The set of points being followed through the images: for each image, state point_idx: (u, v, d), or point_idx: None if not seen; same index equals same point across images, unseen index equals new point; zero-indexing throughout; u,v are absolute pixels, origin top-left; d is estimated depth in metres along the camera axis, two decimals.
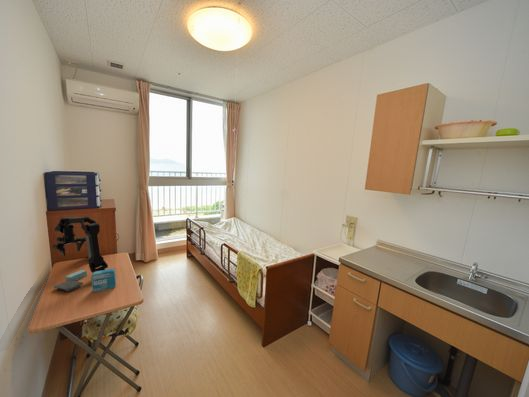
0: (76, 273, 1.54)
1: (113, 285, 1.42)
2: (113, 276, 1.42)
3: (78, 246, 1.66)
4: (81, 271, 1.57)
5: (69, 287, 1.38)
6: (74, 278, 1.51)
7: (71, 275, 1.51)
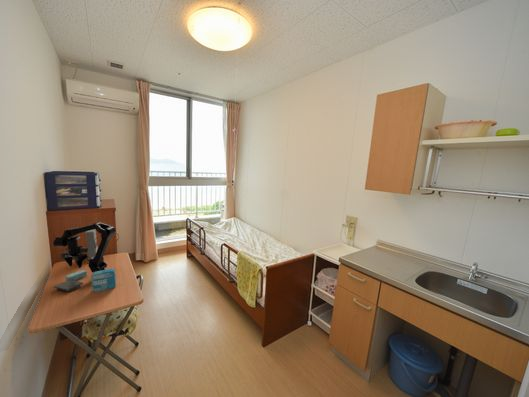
0: (76, 273, 1.54)
1: (113, 285, 1.42)
2: (113, 276, 1.42)
3: None
4: (81, 271, 1.57)
5: (69, 287, 1.38)
6: (73, 278, 1.51)
7: (71, 275, 1.51)
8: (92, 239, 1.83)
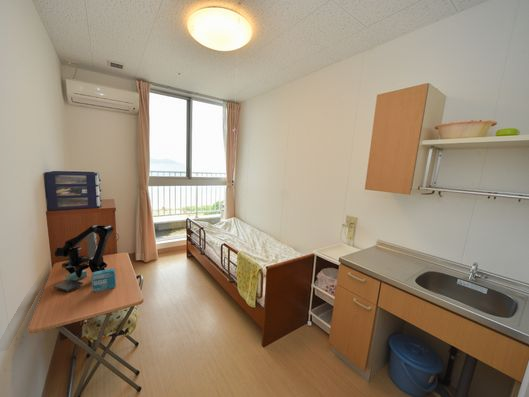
0: None
1: (113, 285, 1.42)
2: (113, 276, 1.42)
3: None
4: None
5: (69, 287, 1.38)
6: (73, 278, 1.51)
7: (70, 275, 1.51)
8: (92, 239, 1.83)
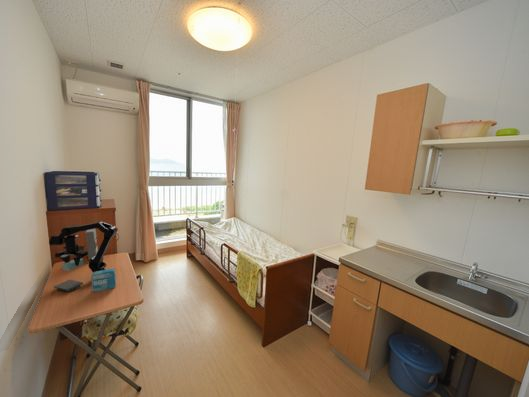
0: (73, 261, 1.50)
1: (113, 285, 1.42)
2: (113, 276, 1.42)
3: None
4: None
5: (69, 287, 1.38)
6: (71, 266, 1.47)
7: (68, 263, 1.47)
8: (92, 239, 1.83)
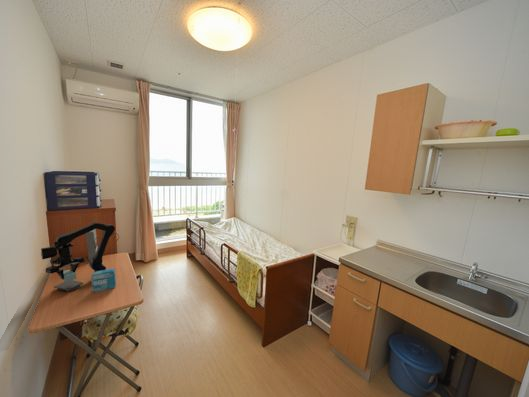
0: (67, 272, 1.41)
1: (113, 285, 1.42)
2: (113, 276, 1.42)
3: (72, 269, 1.44)
4: (65, 271, 1.43)
5: (69, 287, 1.38)
6: None
7: (69, 273, 1.40)
8: (92, 239, 1.83)
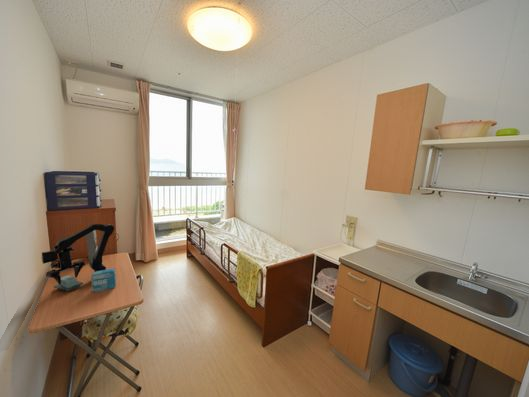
0: (67, 278, 1.42)
1: (113, 285, 1.42)
2: (113, 276, 1.42)
3: (76, 271, 1.45)
4: (65, 277, 1.43)
5: (69, 287, 1.38)
6: None
7: (70, 279, 1.40)
8: (92, 239, 1.83)
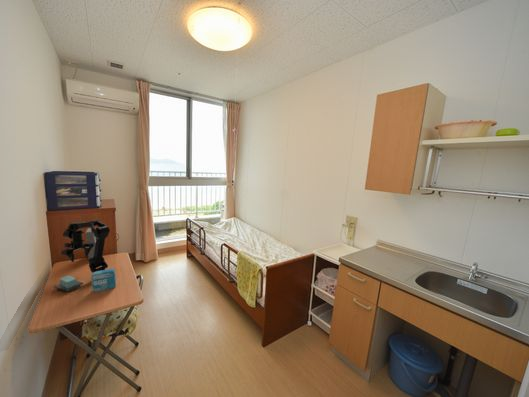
0: (67, 278, 1.42)
1: (113, 285, 1.42)
2: (113, 276, 1.42)
3: (86, 251, 1.63)
4: (65, 277, 1.43)
5: (69, 287, 1.38)
6: None
7: (70, 279, 1.40)
8: (92, 239, 1.83)
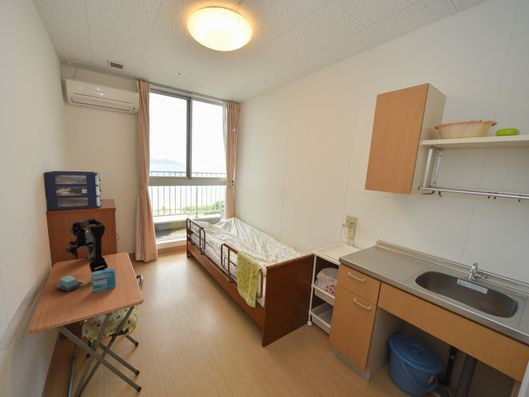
0: (67, 278, 1.42)
1: (113, 285, 1.42)
2: (113, 276, 1.42)
3: (90, 249, 1.68)
4: (65, 277, 1.43)
5: (69, 287, 1.38)
6: None
7: (70, 279, 1.40)
8: (92, 239, 1.83)
